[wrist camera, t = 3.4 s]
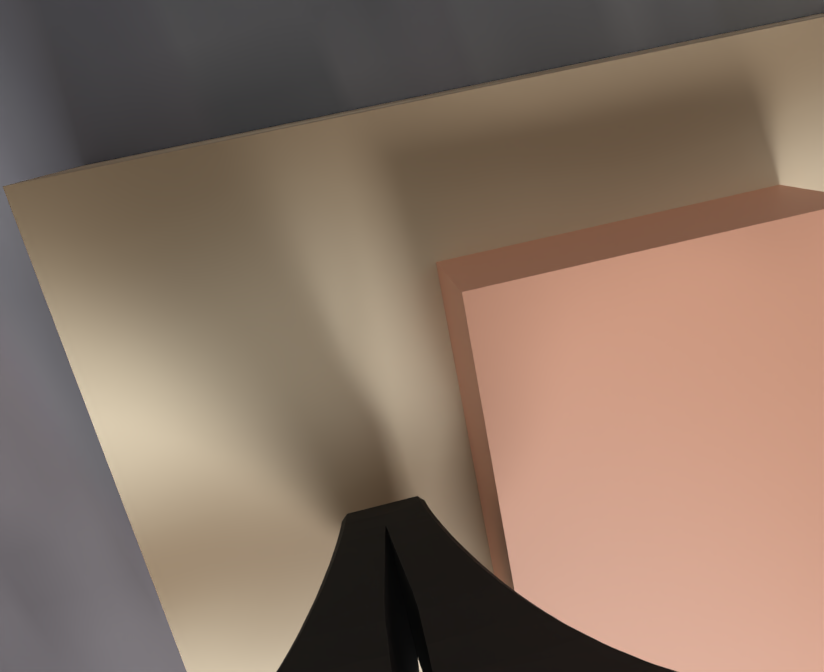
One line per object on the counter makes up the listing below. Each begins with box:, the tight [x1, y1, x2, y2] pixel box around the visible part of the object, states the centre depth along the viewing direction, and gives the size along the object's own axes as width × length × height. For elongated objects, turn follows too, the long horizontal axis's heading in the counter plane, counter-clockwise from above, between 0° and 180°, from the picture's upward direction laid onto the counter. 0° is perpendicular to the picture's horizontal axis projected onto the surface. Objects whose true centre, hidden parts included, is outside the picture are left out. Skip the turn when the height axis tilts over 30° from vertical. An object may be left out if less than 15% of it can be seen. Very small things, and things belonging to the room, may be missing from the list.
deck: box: [3, 13, 824, 672], centre depth 15 cm, size 14×16×4 cm
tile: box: [436, 185, 824, 672], centre depth 12 cm, size 9×6×2 cm, turn 11°
